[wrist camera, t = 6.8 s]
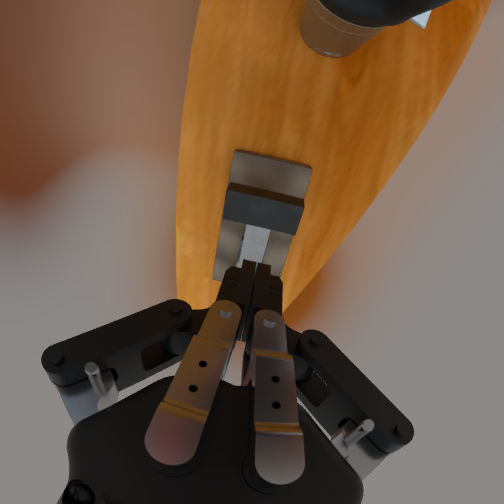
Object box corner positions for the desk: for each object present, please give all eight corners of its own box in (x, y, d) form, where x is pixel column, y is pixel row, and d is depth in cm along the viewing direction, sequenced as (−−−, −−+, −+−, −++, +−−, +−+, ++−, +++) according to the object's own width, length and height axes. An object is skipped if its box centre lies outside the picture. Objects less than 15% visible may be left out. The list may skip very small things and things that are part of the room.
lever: (233, 176, 33) (226, 189, 30) (303, 192, 33) (304, 207, 30) (216, 290, 47) (211, 306, 44) (267, 301, 47) (264, 319, 44)
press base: (236, 149, 41) (222, 162, 31) (310, 166, 41) (320, 185, 31) (214, 273, 53) (200, 311, 43) (275, 287, 53) (272, 327, 43)
